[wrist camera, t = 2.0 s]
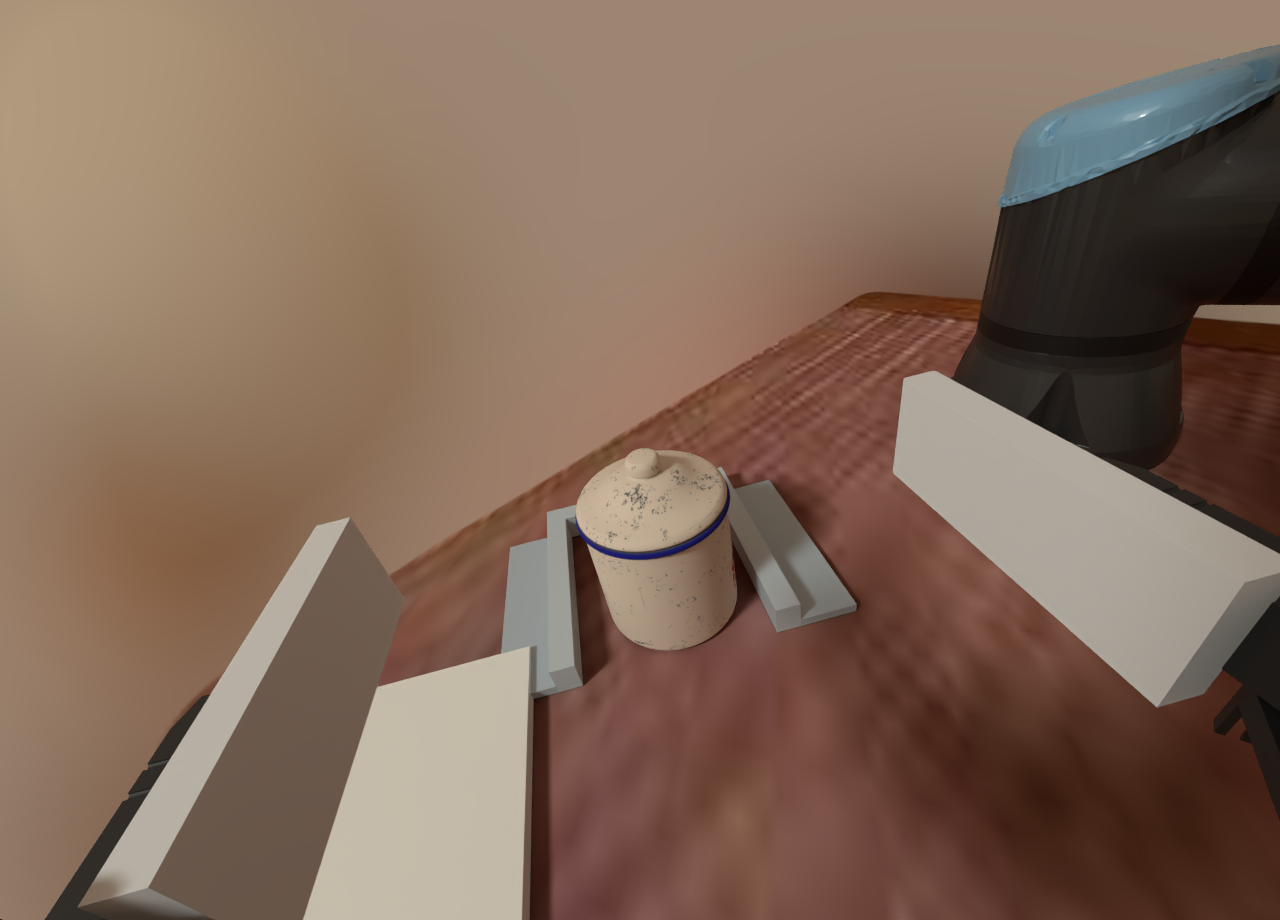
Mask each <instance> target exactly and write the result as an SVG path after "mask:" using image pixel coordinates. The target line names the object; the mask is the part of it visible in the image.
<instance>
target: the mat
mask: <svg viewBox="0 0 1280 920" xmlns="http://www.w3.org/2000/svg"><path fill="white" fill-rule="evenodd" d="M531 655H532V650H531V648H530V646H528V647H525V648H521V649H517V650H514V651H510V652H506V653H502V654H499V655H495V656H491V657H488V658H484V659H480V660H476V661H473V662H469V663H465V664H462V665H458V666H454V667H450V668H447V669H443V670H439V671H436V672H432V673H428V674H424V675H421V676H417V677H413V678H410V679H406V680H402V681H399V682H395V683H391V684H387V685H384V686H380V687H377V689H376V692H375V695H374V698H373V701H372V705H371V708H370V711H369V714H368V717H367V720H366V723H365V727H364V730H363V733H362V736H361V739H360V742H359V745H358V749H357V752H356V755H355V758H354V761H353V764H352V767H351V771H350V774H349V777H348V780H347V783H346V786H345V789H344V793H343V796H342V799H341V802H340V805H339V808H338V811H337V815H336V818H335V821H334V824H333V827H332V830H331V833H330V837H329V840H328V843H327V846H326V849H325V852H324V855H323V859H322V862H321V865H320V868H319V871H318V874H317V877H316V881H315V884H314V887H313V890H312V893H311V896H310V899H309V903H308V906H307V909H306V912H305V915H304V918H303V920H530V873H531V819H532V765H533V711H534V699H533V697H532V695H531Z"/></svg>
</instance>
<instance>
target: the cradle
mask: <svg viewBox="0 0 1280 920" xmlns="http://www.w3.org/2000/svg"><path fill="white" fill-rule="evenodd" d="M717 469H718V470H719V471H720V473H721V474H722V475H723V477H724V479H725V480H726V482H727V484H728V487H729V491H730V505H729V509H728V517H729V526H730V534H731V540H732V542H733V544H734V546H735V548H736V550H737V552H738V554H739V556H740V558H741V560H742V562H743V564H744V566H745V568H746V570H747V572H748V574H749V576H750V578H751V580H752V583H753V585H754V587H755V589H756V591H757V593H758V595H759V597H760V599H761V601H762V603H763V605H764V607H765V609H766V611H767V613H768V615H769V617H770V619H771V621H772V623H773V625H774V627H775V629H776V631H777V632H781V631H785V630H788V629H792V628H795V627H799V626H803V625H806V624H810V623H814V622H817V621H821V620H825V619H828V618H832V617H836V616H839V615H843V614H847V613H850V612H854V611H856V607H857V604H856V603H855V601H854V600H853V598H852V597H851V595H850V594H849V593H848V591H847V590H846V588H845V587H844V586H843V584H842V583H841V581H840V580H839V578H838V577H837V576H836V574H835V573H834V571H833V570H832V568H831V567H830V566H829V564H828V563H827V561H826V560H825V558H824V557H823V556H822V554H821V553H820V551H819V550H818V549H817V547H816V546H815V544H814V543H813V541H812V540H811V539H810V537H809V536H808V534H807V533H806V531H805V530H804V529H803V527H802V526H801V524H800V523H799V522H798V520H797V519H796V517H795V516H794V514H793V513H792V512H791V510H790V509H789V507H788V506H787V504H786V503H785V502H784V500H783V499H782V497H781V496H780V495H779V493H778V492H777V490H776V489H775V487H774V486H773V485H772V483H771V482H770V480H767V481H763V482H759V483H755V484H751V485H747V486H744V487H740V488H736V489H734V488H733V486H732V484H731V483H730V481H729V479H728V477H727V476H726V474H725V472H724V471H723V469H722V467H720V468H717ZM576 506H577V505H573V506H570V507H566V508H562V509H558V510H554V511H550V512H547V538H545V539H541V540H537V541H533V542H529V543H525V544H522V545H518V546H514V547H510V557H509V569H508V580H507V592H506V604H505V615H504V627H503V638H502V650H501V654H502V653H506V652H510V651H514V650H517V649H521V648H525V647H528V646H530V648H531V650H532V655H531V695H532V697H533V699H536V698H540V697H543V696H547V695H551V694H554V693H558V692H562V691H565V690H569V689H573V688H576V687H580V686H583V677H582V663H581V650H580V637H579V623H578V610H577V597H576V583H575V570H574V557H573V543H572V537H575V536H579V535H580V534H579V532H578V529H577V526H576V519H575V516H576Z"/></svg>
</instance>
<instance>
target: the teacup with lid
mask: <svg viewBox="0 0 1280 920" xmlns="http://www.w3.org/2000/svg"><path fill="white" fill-rule="evenodd" d="M729 505H730V491H729V487H728V484H727V482H726V480H725V479H724V477H723V475H722V474H721V473H720V471H719V470H718V469H717V468H716V467H715V466H714V465H713V464H711V463H710V462H709V461H707V460H705V459H703V458H701V457H699V456H697V455H694V454H691V453H687V452H681V451H672V450H660V451H654V450H652V449H648V448H642V449H637V450H635V451H633V452H631V453H630V454H629V455H628V456H627V457H626V458H624V459H621V460H619V461H617V462H615V463H613V464H611V465H609V466H607V467H606V468H604V469H603V470H601V471H600V472H599V473H597V474H596V475H595V476H594V477H593V478H592V479H591V480H590V481H589V482H588V483H587V485H586V486H585V487H584V489H583V490H582V492H581V494H580V496H579V499H578V502H577V506H576V516H575V519H576V526H577V529H578V532H579V534H580V535H581V537H582V538H583V540H584V541H585V542H586V543H587V545H588V548H589V551H590V554H591V557H592V560H593V563H594V566H595V569H596V572H597V574H598V577H599V580H600V583H601V586H602V589H603V592H604V595H605V598H606V601H607V604H608V607H609V609H610V612H611V615H612V618H613V620H614V622H615V624H616V626H617V627H618V629H619V630H620V631H621V632H622V633H623V634H624V635H625V636H626V637H627V638H629V639H630V640H632V641H633V642H635V643H637V644H639V645H641V646H644V647H647V648H650V649H655V650H680V649H685V648H689V647H692V646H695V645H698V644H700V643H702V642H704V641H706V640H708V639H709V638H711V637H712V636H714V635H715V634H716V633H717V632H719V631H720V630H721V629H722V628H723V627H724V625H725V624H726V623H727V622H728V620H729V618H730V617H731V615H732V613H733V611H734V608H735V605H736V601H737V584H736V575H735V567H734V559H733V551H732V542H731V534H730V526H729V517H728V509H729Z"/></svg>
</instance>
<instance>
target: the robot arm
mask: <svg viewBox="0 0 1280 920" xmlns="http://www.w3.org/2000/svg"><path fill="white" fill-rule="evenodd" d="M998 206H1000V207H1001V211H1000V216H999V222H998V227H997V232H996V236H995V241H994V246H993V251H992V256H991V261H990V266H989V271H988V275H987V280H986V285H985V290H984V295H983V300H982V305H981V310H980V316H979V321H978V325H977V330H976V334H975V336H974V338H973V340H972V341H971V343H970V345H969V346H968V348H967V350H966V351H965V353H964V355H963V357H962V359H961V361H960V363H959V365H958V367H957V369H956V371H955V374H954V376H953V377H952V378H951V379H950V378H948V377H946V376H944V375H942V374H940V373H938V372H936V371H930V372H926V373H922V374H918V375H914V376H910V377H906V378H904V381H903V389H902V398H901V406H900V415H899V423H898V432H897V441H896V449H895V458H894V466H893V473H894V474H895V475H896V476H897V477H898V478H899V479H900V480H901V481H903V482H904V483H905V484H906V485H907V486H908V487H909V488H910V489H912V490H913V491H914V492H915V493H916V494H917V495H918V496H919V497H921V498H922V499H923V500H924V501H925V502H926V503H927V504H928V505H930V506H931V507H932V508H933V509H934V510H935V511H936V512H937V513H939V514H940V515H941V516H942V517H943V518H944V519H945V520H946V521H948V522H949V523H950V524H951V525H952V526H953V527H954V528H955V529H957V530H958V531H959V532H960V533H961V534H962V535H963V536H964V537H966V538H967V539H968V540H969V541H970V542H971V543H972V544H973V545H975V546H976V547H977V548H978V549H979V550H980V551H981V552H982V553H984V554H985V555H986V556H987V557H988V558H989V559H990V560H991V561H993V562H994V563H995V564H996V565H997V566H998V567H999V568H1001V569H1002V570H1003V571H1004V572H1005V573H1006V574H1007V575H1008V576H1010V577H1011V578H1012V579H1013V580H1014V581H1015V582H1016V583H1017V584H1019V585H1020V586H1021V587H1022V588H1023V589H1024V590H1025V591H1026V592H1028V593H1029V594H1030V595H1031V596H1032V597H1033V598H1034V599H1035V600H1037V601H1038V602H1039V603H1040V604H1041V605H1042V606H1043V607H1044V608H1046V609H1047V610H1048V611H1049V612H1050V613H1051V614H1052V615H1053V616H1055V617H1056V618H1057V619H1058V620H1059V621H1060V622H1061V623H1062V624H1064V625H1065V626H1066V627H1067V628H1068V629H1069V630H1070V631H1071V632H1073V633H1074V634H1075V635H1076V636H1077V637H1078V638H1079V639H1080V640H1082V641H1083V642H1084V643H1085V644H1086V645H1087V646H1088V647H1089V648H1091V649H1092V650H1093V651H1094V652H1095V653H1096V654H1097V655H1098V656H1100V657H1101V658H1102V659H1103V660H1104V661H1105V662H1106V663H1107V664H1109V665H1110V666H1111V667H1112V668H1113V669H1114V670H1115V671H1116V672H1118V673H1119V674H1120V675H1121V676H1122V677H1123V678H1124V679H1125V680H1127V681H1128V682H1129V683H1130V684H1131V685H1132V686H1133V687H1134V688H1136V689H1137V690H1138V691H1139V692H1140V693H1141V694H1142V695H1143V696H1145V697H1146V698H1147V699H1148V700H1149V701H1150V702H1151V703H1152V704H1154V705H1155V706H1156V707H1161V706H1164V705H1168V704H1171V703H1175V702H1178V701H1181V700H1185V699H1188V698H1192V697H1195V696H1199V695H1202V694H1204V693H1205V692H1206V690H1207V689H1208V688H1209V687H1210V685H1211V684H1212V683H1213V681H1214V680H1215V679H1216V677H1217V676H1218V675H1219V674H1220V672H1221V671H1222V670H1225V671H1226V672H1227V673H1229V674H1230V675H1231V676H1233V677H1234V678H1235V679H1237V680H1238V681H1239V682H1241V683H1242V684H1243V686H1242V687H1241V688H1240V689H1239V690H1238V692H1237V693H1236V694H1235V695H1234V696H1233V697H1232V699H1231V700H1230V701H1229V702H1228V703H1227V705H1226V706H1225V707H1224V708H1223V709H1222V711H1221V712H1220V713H1219V714H1218V715H1217V717H1216V718H1215V719H1214V732H1215V733H1219V734H1222V735H1225V734H1226V733H1227V732H1228V731H1229V730H1230V729H1231V728H1232V727H1233V725H1234V724H1235V723H1236V722H1237V721H1238V720H1239V719H1240V718H1241V717H1242V718H1243V721H1244V723H1245V726H1246V730H1245V731H1244V732H1243V734H1242V735H1241V737H1240V740H1242V741H1246V742H1249V743H1252V745H1253V748H1254V751H1255V754H1256V756H1257V759H1258V762H1259V765H1260V768H1261V770H1262V773H1263V776H1264V779H1265V781H1266V784H1267V787H1268V790H1269V792H1270V795H1271V798H1272V801H1273V803H1274V806H1275V809H1276V812H1277V814H1278V817H1279V820H1280V538H1279V537H1277V536H1275V535H1273V534H1271V533H1269V532H1267V531H1265V530H1263V529H1261V528H1259V527H1257V526H1255V525H1254V524H1252V523H1250V522H1248V521H1246V520H1244V519H1242V518H1240V517H1238V516H1236V515H1234V514H1232V513H1230V512H1228V511H1226V510H1224V509H1222V508H1220V507H1218V506H1216V505H1214V504H1213V505H1208V504H1207V502H1206V500H1204V499H1202V498H1201V497H1199V496H1197V495H1195V494H1193V493H1191V492H1189V491H1187V490H1179V489H1178V486H1177V485H1175V484H1173V483H1171V482H1169V481H1167V480H1165V479H1163V478H1161V477H1159V476H1157V475H1155V474H1153V473H1151V472H1150V471H1148V469H1150V468H1152V467H1154V466H1156V465H1158V464H1159V463H1161V462H1162V461H1163V460H1165V459H1166V458H1167V457H1168V455H1169V454H1170V452H1171V450H1172V448H1173V446H1174V444H1175V442H1176V440H1177V438H1178V435H1179V433H1180V431H1181V429H1182V426H1183V421H1184V415H1183V412H1182V406H1181V397H1182V368H1181V346H1182V342H1183V340H1184V337H1185V335H1186V332H1187V330H1188V328H1189V326H1190V323H1191V321H1192V319H1193V316H1194V315H1195V313H1196V311H1197V309H1198V308H1199V306H1201V305H1211V304H1212V305H1280V45H1276V46H1270V47H1265V48H1260V49H1256V50H1253V51H1250V52H1245V53H1240V54H1237V55H1233V56H1230V57H1227V58H1223V59H1215V60H1212V61H1208V62H1204V63H1200V64H1197V65H1192V66H1189V67H1185V68H1182V69H1178V70H1174V71H1171V72H1167V73H1164V74H1160V75H1157V76H1153V77H1150V78H1146V79H1143V80H1139V81H1136V82H1133V83H1129V84H1126V85H1123V86H1120V87H1117V88H1113V89H1110V90H1107V91H1104V92H1101V93H1098V94H1095V95H1091V96H1088V97H1085V98H1082V99H1080V100H1077V101H1074V102H1071V103H1068V104H1066V105H1063V106H1061V107H1058V108H1056V109H1054V110H1051V111H1049V112H1047V113H1045V114H1044V115H1042V116H1040V117H1039V118H1037V119H1036V120H1035V121H1033V122H1032V123H1031V124H1030V125H1029V126H1028V127H1027V128H1026V129H1025V130H1024V131H1023V133H1022V134H1021V135H1020V137H1019V139H1018V140H1017V142H1016V145H1015V147H1014V150H1013V154H1012V158H1011V162H1010V167H1009V171H1008V174H1007V178H1006V182H1005V186H1004V190H1003V192H1002V194H1001V195H1000V196H999V199H998ZM404 601H405V599H404V597H403V596H402V594H401V593H400V591H399V590H398V588H397V587H396V585H395V584H394V582H393V581H392V579H391V578H390V576H389V575H388V573H387V572H386V570H385V569H384V567H383V566H382V564H381V563H380V561H379V560H378V558H377V557H376V555H375V554H374V552H373V551H372V549H371V548H370V546H369V545H368V543H367V542H366V540H365V539H364V537H363V536H362V534H361V532H360V531H359V530H358V528H357V526H356V525H355V523H354V522H353V521H352V519H351V518H346V519H342V520H338V521H334V522H330V523H326V524H322V525H318V526H316V527H315V529H314V530H313V532H312V534H311V535H310V537H309V538H308V540H307V542H306V543H305V545H304V546H303V548H302V550H301V551H300V553H299V554H298V556H297V558H296V559H295V561H294V562H293V564H292V566H291V567H290V569H289V570H288V572H287V574H286V575H285V577H284V578H283V580H282V582H281V583H280V585H279V586H278V588H277V590H276V591H275V593H274V594H273V596H272V597H271V599H270V601H269V602H268V604H267V605H266V607H265V609H264V610H263V612H262V613H261V615H260V617H259V618H258V620H257V621H256V623H255V625H254V626H253V628H252V629H251V631H250V633H249V634H248V636H247V637H246V639H245V641H244V642H243V644H242V645H241V647H240V649H239V650H238V652H237V653H236V655H235V656H234V658H233V660H232V661H231V663H230V664H229V666H228V668H227V669H226V671H225V672H224V674H223V676H222V677H221V679H220V680H219V682H218V684H217V685H216V687H215V688H214V690H213V692H212V693H211V694H210V695H206V696H202V697H201V698H200V699H199V700H198V701H197V702H196V703H195V704H194V705H193V706H192V707H191V708H190V709H189V710H188V711H187V713H186V714H185V715H184V716H183V717H182V718H181V719H180V720H179V721H178V722H177V723H176V724H175V725H174V726H173V727H172V728H171V729H170V731H169V732H168V734H167V735H166V737H165V738H164V740H163V741H162V743H161V744H160V746H159V747H158V749H157V750H156V752H155V753H154V755H153V756H152V758H151V759H150V761H149V762H148V765H149V767H148V769H147V770H144V771H143V772H142V773H141V775H140V776H139V778H138V779H137V781H136V782H135V784H134V785H133V787H132V788H131V790H130V791H129V793H128V794H129V798H128V800H126V801H123V802H122V803H121V805H120V806H119V808H118V809H117V811H116V813H115V814H114V816H113V817H112V819H111V820H110V822H109V823H108V825H107V826H106V828H105V829H104V831H103V833H102V834H101V835H100V837H99V838H98V840H97V841H96V843H95V844H94V846H93V848H92V849H91V850H90V852H89V854H88V855H87V857H86V858H85V859H84V861H83V863H82V864H81V866H80V867H79V869H78V870H77V872H76V873H75V875H74V876H73V878H72V879H71V881H70V882H69V884H68V885H67V887H66V888H65V890H64V891H63V893H62V894H61V896H60V897H59V899H58V900H57V902H56V903H55V905H54V907H53V908H52V910H51V911H50V913H49V914H48V916H47V917H46V919H45V920H303V918H304V915H305V912H306V909H307V906H308V903H309V899H310V896H311V893H312V890H313V887H314V884H315V881H316V877H317V874H318V871H319V868H320V865H321V862H322V859H323V855H324V852H325V849H326V846H327V843H328V840H329V837H330V833H331V830H332V827H333V824H334V821H335V818H336V815H337V811H338V808H339V805H340V802H341V799H342V796H343V793H344V789H345V786H346V783H347V780H348V777H349V774H350V771H351V767H352V764H353V761H354V758H355V755H356V752H357V749H358V745H359V742H360V739H361V736H362V733H363V730H364V727H365V723H366V720H367V717H368V714H369V711H370V708H371V705H372V701H373V698H374V695H375V692H376V689H377V686H378V683H379V679H380V676H381V673H382V670H383V667H384V664H385V661H386V657H387V654H388V651H389V648H390V645H391V642H392V639H393V635H394V632H395V629H396V626H397V623H398V620H399V617H400V614H401V610H402V607H403V604H404ZM0 920H1V919H0Z"/></svg>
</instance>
